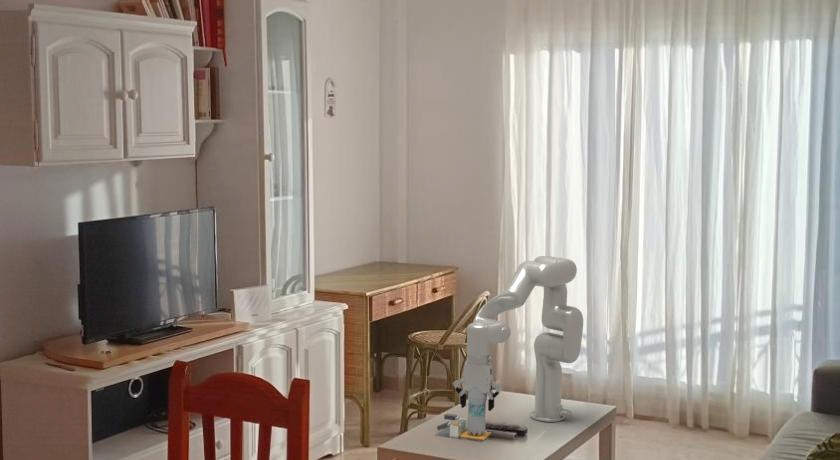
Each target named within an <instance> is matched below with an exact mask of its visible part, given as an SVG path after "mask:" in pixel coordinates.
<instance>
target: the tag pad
mask: <svg viewBox="0 0 840 460" xmlns="http://www.w3.org/2000/svg"><path fill="white" fill-rule="evenodd" d="M490 434H491V432H485V433H484V434H483V435H480V436H478V433H476V435H475V436H473V434H472V435H470V434H469V433H468V430H466V431H465V432H464V433H463V434H462V435H461V436H460V437H464V438H472V439H479V440H484V439H485V438H486V439H487V437H488V436H489V435H490ZM491 435H492V434H491ZM491 435H490V436H491ZM490 436H489V437H490ZM489 437H488V438H489ZM486 439H485V440H486ZM485 440H484V441H485Z"/></svg>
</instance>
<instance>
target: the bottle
mask: <svg viewBox="0 0 840 460" xmlns="http://www.w3.org/2000/svg"><path fill="white" fill-rule="evenodd" d="M487 398H488V395H487V394H484V393H482V390H481V388H478V387H470V389H469V392H467V400H468V402H467V403H468V404H467V407H468V408H467V418H468V422H467V430H468V433H469V434H470V435H472V434H473V436H475V435H476V433H478V436H480V435H483V434H484V433H485V431H486V425H487V424H486V407H487V406H486V405H487V403H486V402H487V400H488V399H487Z"/></svg>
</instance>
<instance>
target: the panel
mask: <svg viewBox="0 0 840 460" xmlns="http://www.w3.org/2000/svg"><path fill="white" fill-rule="evenodd" d="M467 422H468V417H464V416H460V418H459V419H457V422H455V421H454V422H452V424H451V425H450V426H449V427H447V428H444V429H441V430H439V431H438V432H437V433H436V434H435V435H434V437H435V436H436V437H442V438H449V439H454V440H455V439H456V440H464V441H471V442H478V443H483V442H484V441H485V440H487V438H489V437H490V436H491V435H492V434H493V433H491V434H490V435H489V436H488V437H487V438H485V439H484V440H479V439H472V438H464V437H460V436H461V435H462V434H463V433H464V432H465V431H466V430H467Z"/></svg>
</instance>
